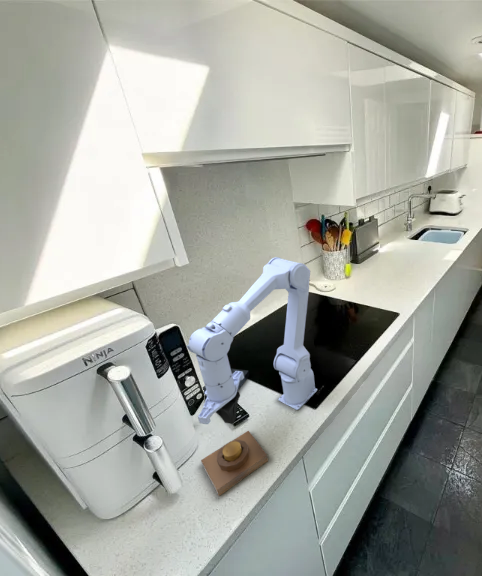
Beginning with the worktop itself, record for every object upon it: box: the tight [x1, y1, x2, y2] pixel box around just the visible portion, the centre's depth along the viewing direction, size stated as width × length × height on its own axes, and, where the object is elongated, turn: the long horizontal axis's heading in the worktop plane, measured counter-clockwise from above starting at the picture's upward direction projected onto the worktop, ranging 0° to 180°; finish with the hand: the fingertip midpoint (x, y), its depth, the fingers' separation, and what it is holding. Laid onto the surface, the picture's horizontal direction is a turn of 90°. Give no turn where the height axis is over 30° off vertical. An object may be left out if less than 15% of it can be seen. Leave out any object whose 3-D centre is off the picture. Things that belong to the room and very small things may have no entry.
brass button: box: [223, 441, 242, 461], centre depth 73 cm, size 4×4×2 cm
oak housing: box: [200, 430, 269, 497], centre depth 75 cm, size 12×10×4 cm
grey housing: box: [202, 368, 250, 400], centre depth 98 cm, size 12×10×4 cm
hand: (230, 420), depth 74 cm, fingers closed
